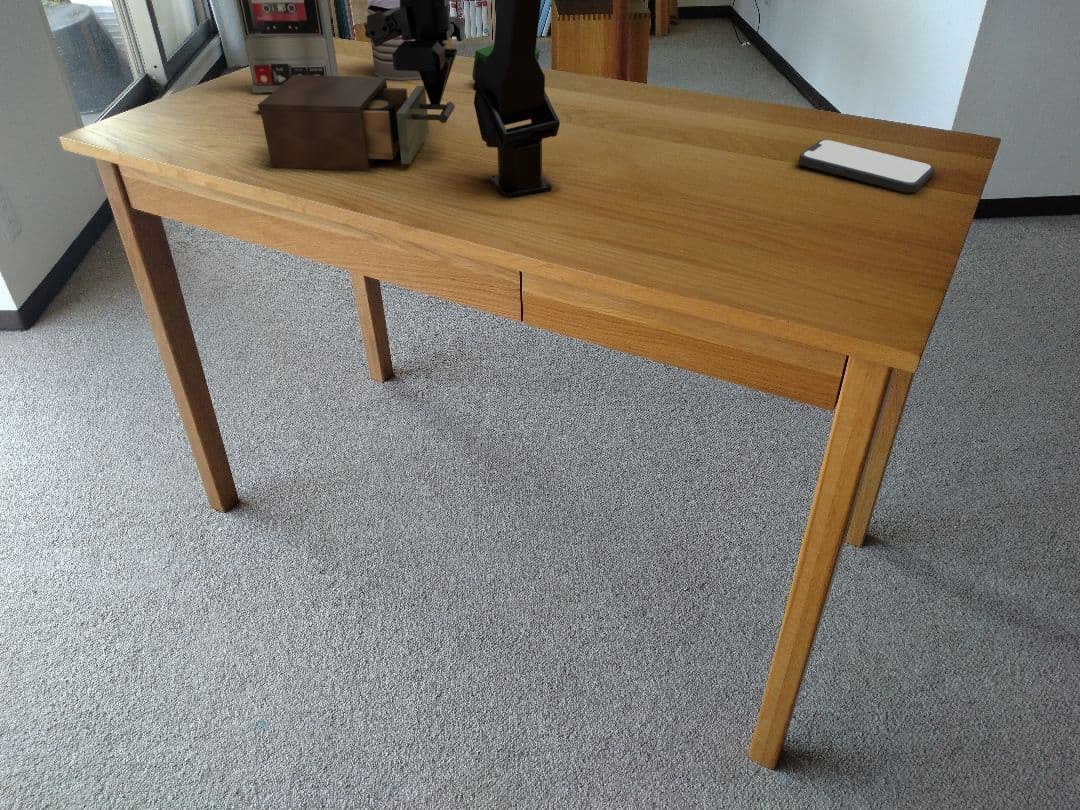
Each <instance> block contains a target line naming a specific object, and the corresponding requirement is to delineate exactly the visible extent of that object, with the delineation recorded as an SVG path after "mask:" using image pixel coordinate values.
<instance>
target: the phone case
mask: <svg viewBox="0 0 1080 810" xmlns="http://www.w3.org/2000/svg"><path fill="white" fill-rule="evenodd" d="M798 164H799V165H800V166H802V167H805V168H808V169H813V170H817V171H821V172H824V173H828V174H831V175H835V176H839V177H844V178H847V179H850V180H855V181H858V182H862V183H866V184H870V185H872V186H873V185H874V186H877V187H880V188H885V189H887V190H893V191H897V192H900V193H905V194H914V193H916V192H917V191H918V190H919V189H921V187H923V186H924V185H925V184H926V183H927V182H928V181H929V180H930V179H931V178H932V177H933V175H934V172H935V167H934V166H933V165H932V164H929V163H925V162H923V161H922V162H921V161H917V160H913V159H910V158H905V157H902V156H897V155H893V154H888V153H884V152H882V151H881V152H880V151H876V150H873V149H869V148H863V147H859V146H856V145H851V144H848V143H843V142H839V141H835V140H830V139H821V140H819V141H817V142H816V143H814V144H812V145H811V146H810V147H809V148H806V150H804V151H803V152H801V153H800V154H799V157H798Z"/></svg>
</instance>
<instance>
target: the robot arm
mask: <svg viewBox="0 0 1080 810" xmlns="http://www.w3.org/2000/svg"><path fill="white" fill-rule="evenodd" d="M451 1H452V0H400V6H399V7H396V8H394V9H391V10H389V11H386V12H384V13H382V12H381V11H380V10H379V11H377V12H376V13H374V14H372V13H371V14H369V15H368V14H367V16H366V22H365V23H364V29H365V32H364V36H365V37H366V38H367V39H370V41H371V40H372V42H373V44H374V46H375V47H377V46H380V45H382V44H383V42H386V41H389V40H391V39H394V38H396V37H399V36H401V35H402V40H415V41H404V42H403V43H402V44H401V45H400V46H399V47H398V48H397V49H396V51H395V52H394V53H393V54H392V56H393V66H394V69H395V70H398V71H418V72H419V74H420V76H421V79H420V80H421V81H422V84H423V86H424V87H425V92H426V96H427V98H428V100H429V104H442V100H443V97H444V94H445V90H446V86H447V83H448V80H449V77H450V74H451V71H452V68H453V65H454V62H455V58H456V56H457V54H458V49H456V48H448V44H447V43H445V42H446V41H449V39H450V38H456V41H457V42H463V40H464V39H465V33H466V32H465V23H464V22H463V21H462V19H460V18H459V17H458V16H451V15H450V2H451ZM541 6H542V0H497V4H496V15H495V16H496V18H495V26H494V27H495V28H494V29H495V30H494V41H493V42H494V43H493V45H494V48H493V50H492V52H491V53H490V55H489V56H483V57H479V58H478V59H477V61H476V64H475V80H474V84H473V86H472V90H473V91H475V92H474V97H473V106H474V109H475V114H476V119H477V120H476V121H477V124H478V128H479V132H480V136H481V141H483V142H485V146H486V147H488V148H495V149H497V174H493V175H489V181H490V182H491V184H493V186H495V188H496V189H497V190H498V191H499V192H500V193H501V194H502V195H503V197H505V198H507V197H508V198H509V197H515V196H522V195H528V194H534V193H540V192H546V191H551V190H552V189H553V185H552V184H551V183H550V182H549V181H548V180H547V179H546V178H545V177H543V140H544V139H548V138H555V137H557V136H558V132H559V128H560V125H561V122H560V119H559V117H558V116H557V113H556V111H555V109H554V107H553V105H552V103H551V101H550V99H549V97H548V95H547V93H546V90H545V89H546V76H545V74H544V71H543V69H542V67H541V65H540V61H539V59H538V60H537V58H536V56H535V51H536V48H537V42H538V33H539V25H540V14H541V8H542V7H541ZM529 120H530V123H525V124H521V125H517V126H513V127H509V128H506V126H508V125H513V124H517V123H521V122H525V121H529Z"/></svg>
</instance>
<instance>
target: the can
mask: <svg viewBox="0 0 1080 810" xmlns="http://www.w3.org/2000/svg"><path fill="white" fill-rule="evenodd" d="M366 5H369V6H368V7H367V8H366V11H367V16H368V15H369V14H371V13H372V14H374V13H376V12H377V11H379V10H380V11H381V12H382V13H384V12H386V11H389V10H391V9H394V8H396V7H399V6H400V0H366ZM404 41H415V40H402V35H401V36H399V37H396V38H394V39H391V40H389V41H386V42H383V44H382V45H380V46H377V47H375V46H374V44H373V42H372V40H371V39H370V44H371V52H372V61H373V69H374V75H375V76H376V77H386V80H390V81H411V80H412V81H413V80H422V79H421V76H420V74H419V72H418V71H398V70H395V69H394V66H393V56H392V54H393V53H394V52H395V51H396V49H397V48H398V47H399V46H400V45H401V44H402V43H403V42H404Z"/></svg>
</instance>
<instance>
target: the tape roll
mask: <svg viewBox="0 0 1080 810" xmlns="http://www.w3.org/2000/svg"><path fill="white" fill-rule="evenodd" d="M363 110H369V111H389V114H390V123H391V132H392V141H393V143H394V142H396V141H397V140H398V138H399V136H398V127H397V118H396V108H395V103H394V102H393V101H391V100H387V99H372V100H371V101H370V102H369V104H368V105H367V106H366V107H365V108H364V109H363Z"/></svg>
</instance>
